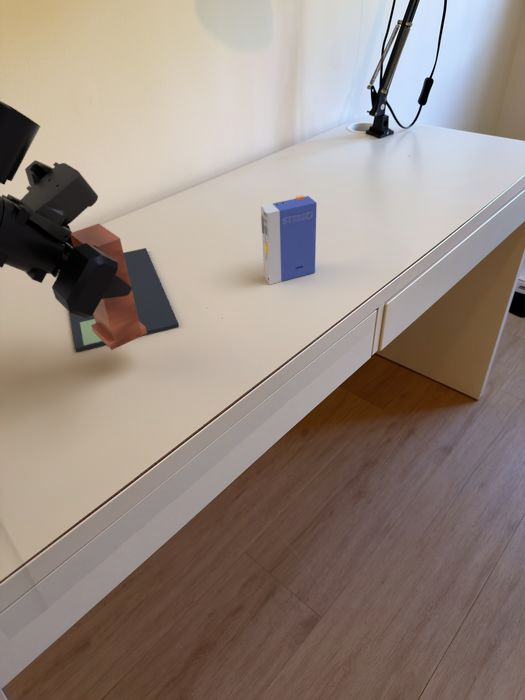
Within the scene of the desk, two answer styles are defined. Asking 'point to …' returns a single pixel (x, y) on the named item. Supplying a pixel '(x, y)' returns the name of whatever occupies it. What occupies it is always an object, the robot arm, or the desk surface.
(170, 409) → the desk surface
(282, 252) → the walkman
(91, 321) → the dark blue mat
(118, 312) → the reddish brown square pillar
